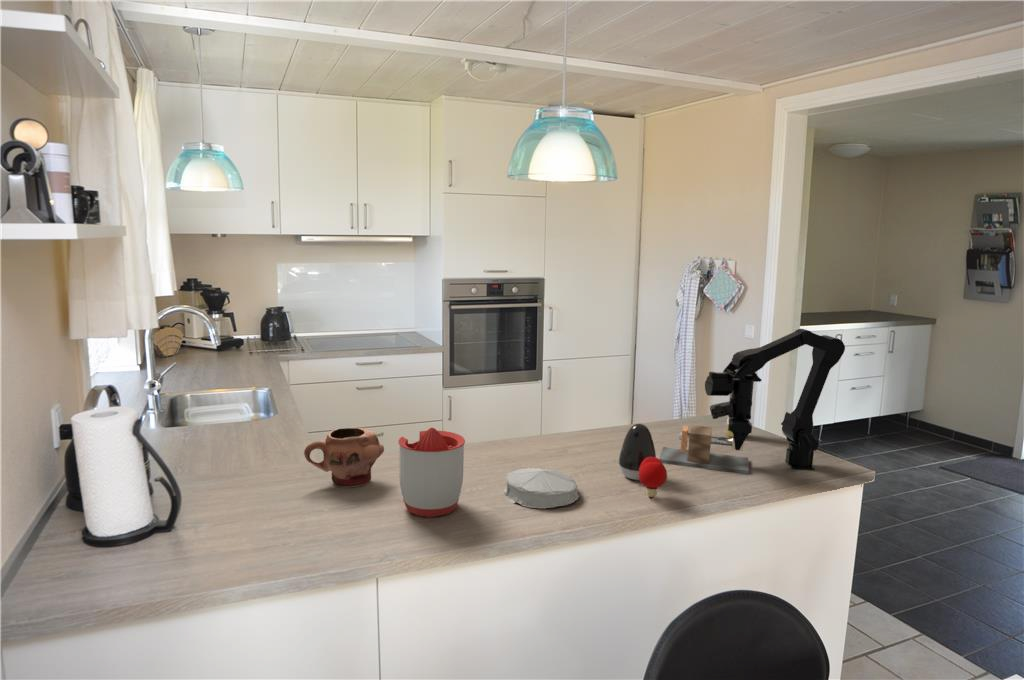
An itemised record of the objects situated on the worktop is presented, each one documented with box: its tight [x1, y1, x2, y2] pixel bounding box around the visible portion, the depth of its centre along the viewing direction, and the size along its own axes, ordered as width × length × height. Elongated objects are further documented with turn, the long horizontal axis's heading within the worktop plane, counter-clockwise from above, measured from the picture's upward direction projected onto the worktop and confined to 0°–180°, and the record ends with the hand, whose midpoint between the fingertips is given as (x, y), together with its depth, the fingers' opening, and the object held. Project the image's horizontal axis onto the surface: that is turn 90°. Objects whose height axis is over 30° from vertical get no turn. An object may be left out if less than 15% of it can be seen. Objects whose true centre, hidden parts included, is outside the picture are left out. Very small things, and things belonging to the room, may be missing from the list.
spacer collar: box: [680, 425, 689, 452], centre depth 200 cm, size 1×6×6 cm, turn 162°
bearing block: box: [658, 424, 750, 475], centre depth 198 cm, size 25×12×10 cm, turn 72°
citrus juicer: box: [398, 427, 466, 518], centre depth 159 cm, size 16×17×20 cm
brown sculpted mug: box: [303, 427, 385, 488], centre depth 172 cm, size 20×12×14 cm, turn 115°
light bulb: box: [638, 456, 668, 499], centre depth 170 cm, size 9×7×10 cm
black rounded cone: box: [618, 423, 657, 481], centre depth 183 cm, size 10×10×15 cm
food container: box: [503, 467, 580, 510], centre depth 171 cm, size 20×20×7 cm
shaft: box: [678, 431, 744, 452], centre depth 197 cm, size 18×4×4 cm, turn 72°
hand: (737, 447), depth 195 cm, fingers open, 4 cm apart
